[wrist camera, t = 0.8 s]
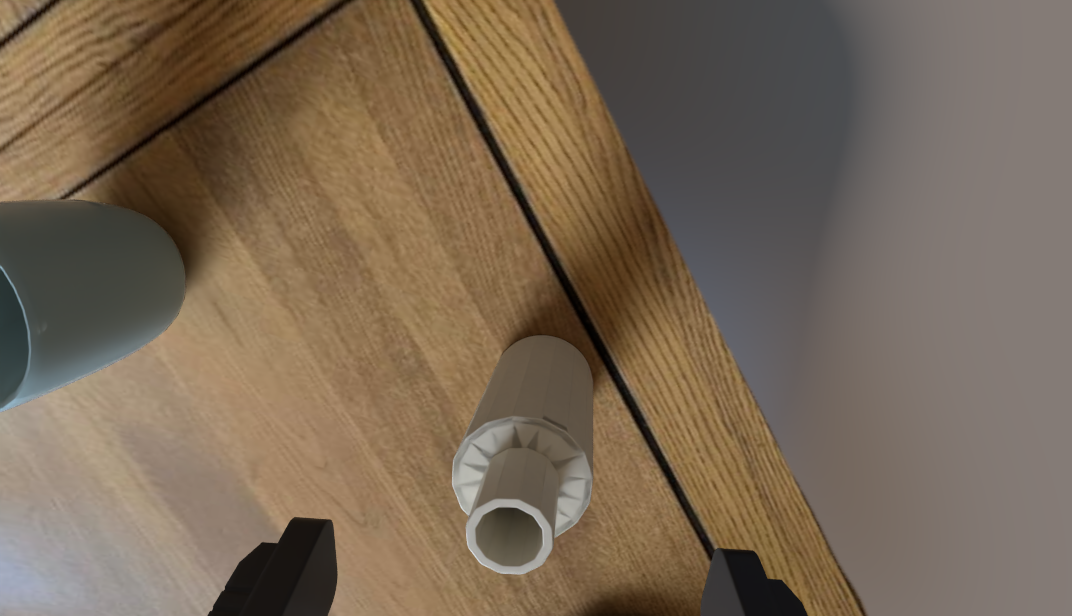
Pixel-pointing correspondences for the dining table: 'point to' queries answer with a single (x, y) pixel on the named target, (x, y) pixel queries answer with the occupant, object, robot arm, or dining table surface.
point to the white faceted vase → (527, 455)
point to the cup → (79, 291)
